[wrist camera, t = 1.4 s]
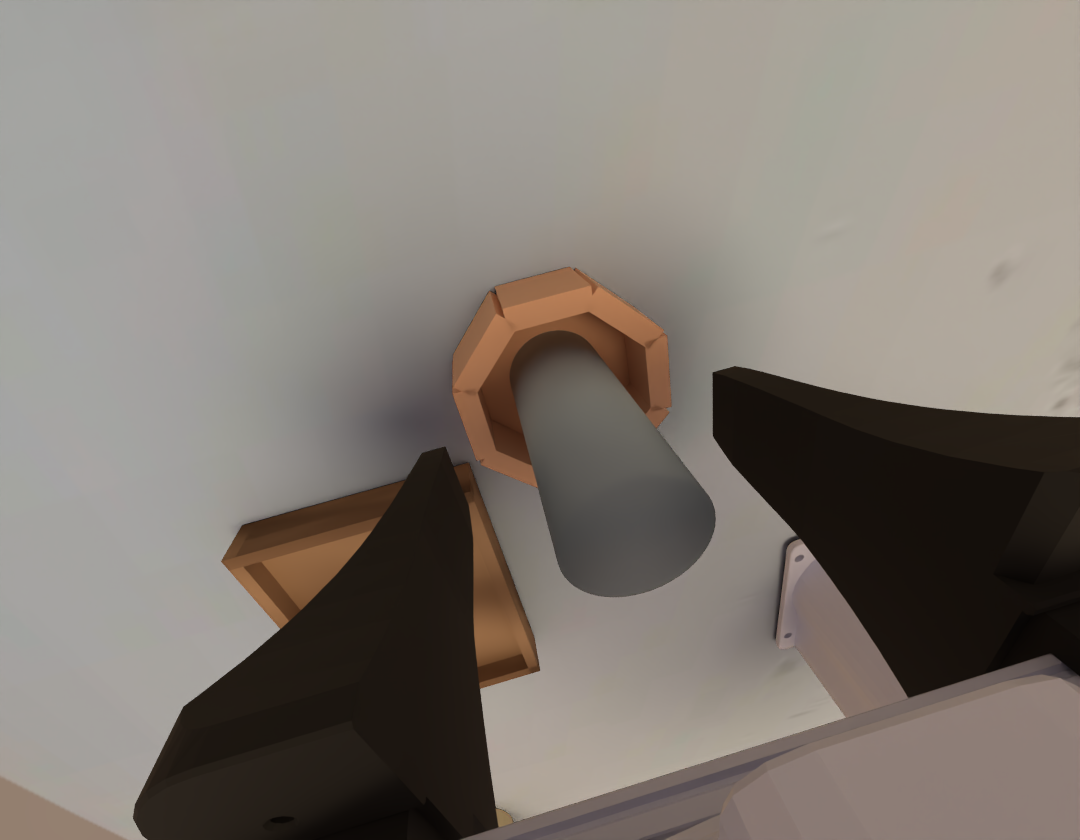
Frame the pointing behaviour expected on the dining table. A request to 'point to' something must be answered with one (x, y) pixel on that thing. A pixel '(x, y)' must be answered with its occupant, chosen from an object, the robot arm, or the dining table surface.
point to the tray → (336, 534)
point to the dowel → (605, 473)
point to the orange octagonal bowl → (527, 313)
